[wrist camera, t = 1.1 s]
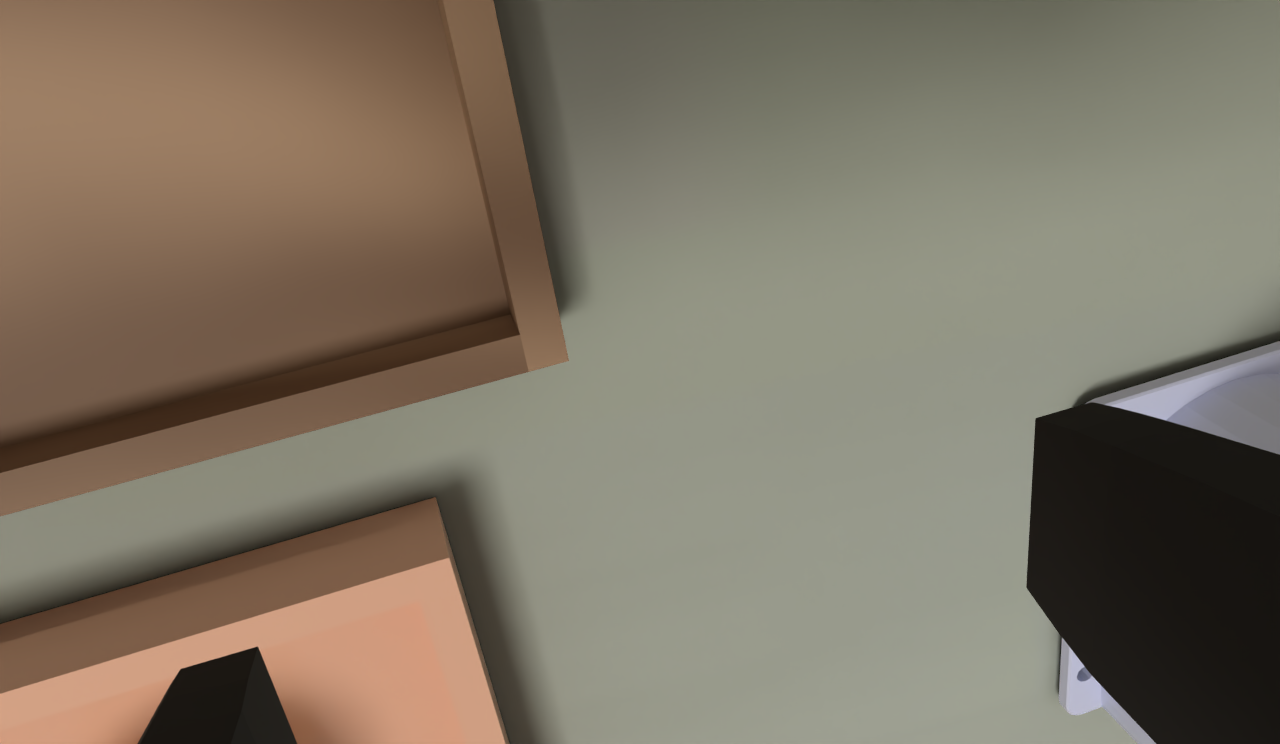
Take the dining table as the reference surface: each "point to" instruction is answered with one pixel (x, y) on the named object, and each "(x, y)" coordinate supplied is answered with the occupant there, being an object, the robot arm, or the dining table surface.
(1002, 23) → the dining table surface
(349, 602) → the dish
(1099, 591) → the robot arm
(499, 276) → the tray
